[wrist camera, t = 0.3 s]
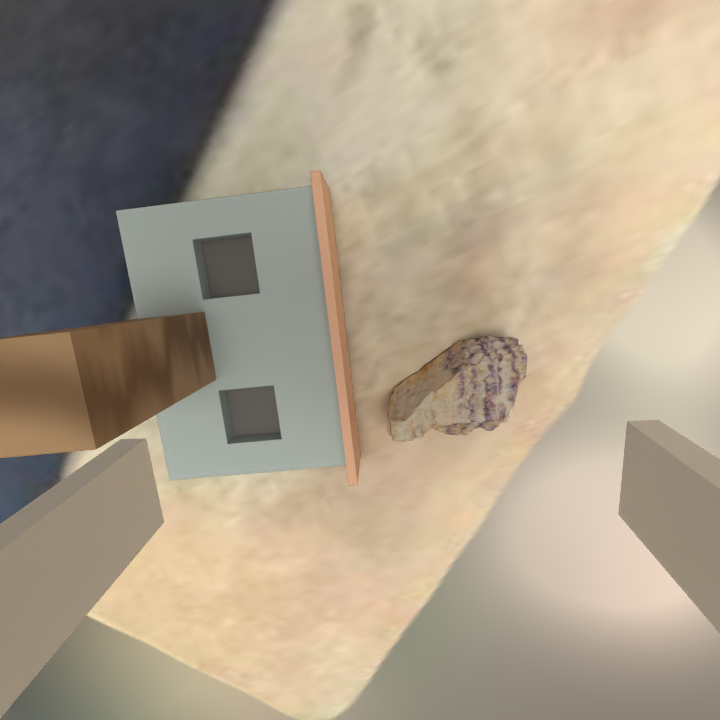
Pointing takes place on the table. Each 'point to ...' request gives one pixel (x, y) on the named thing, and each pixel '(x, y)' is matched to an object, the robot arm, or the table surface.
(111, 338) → the walnut block
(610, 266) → the table surface
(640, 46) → the table surface
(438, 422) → the mineral specimen
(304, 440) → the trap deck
